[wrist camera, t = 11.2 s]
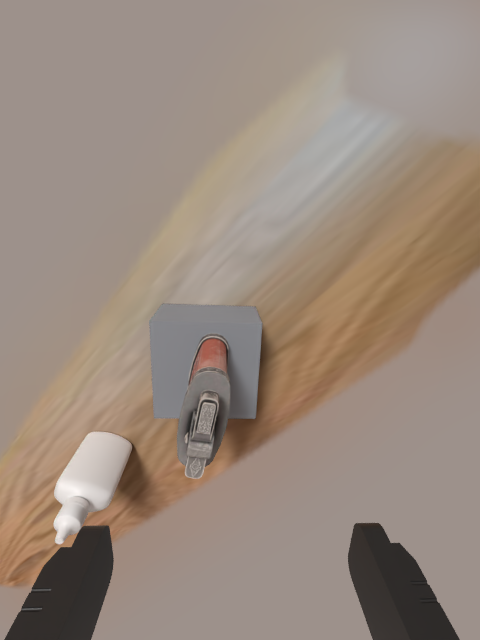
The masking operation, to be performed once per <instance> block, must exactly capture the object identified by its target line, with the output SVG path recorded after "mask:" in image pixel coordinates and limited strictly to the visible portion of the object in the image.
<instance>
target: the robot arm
mask: <svg viewBox="0 0 480 640" xmlns="http://www.w3.org/2000/svg"><path fill="white" fill-rule="evenodd" d="M348 564H349V570H350V574H351V578H352V581H353V584H354V587H355V590H356V592H357V595H358V598H359V601H360V604H361V607H362V610H363V613H364V615H365V618H366V621H367V624H368V627H369V630H370V633H371V636H372V638H373V640H459V638H458V636H457V634H456V632H455V630H454V629H453V627H452V625H451V623H450V622H449V620H448V618H447V616H446V614H445V612H444V611H443V609H442V607H441V605H440V603H438V602H437V598H436V596H435V594H434V593H433V591H432V589H431V588H430V585H428V584H427V580H426V578H425V577H424V575H423V573H422V571H421V569H420V568H419V566H418V564H417V562H416V560H415V559H414V558H413V557H412V556H411V555H410V554H409V553H408V552H407V551H406V550H405V548H403V546H402V545H401V544H400V543H390V541H389V539H388V537H387V535H386V533H385V531H384V529H383V528H382V526H381V525H380V524H379V523H356V524H355V525H354V529H353V534H352V538H351V543H350V548H349V553H348ZM112 570H113V551H112V543H111V536H110V529H109V526H83V527H82V528H81V529H80V531H79V533H78V535H77V537H76V539H75V541H74V543H73V545H72V547H61V548H60V549H59V550H58V551H57V552H56V553H55V554H54V555H53V557H52V558H51V559H50V560H49V561H48V562H47V563H46V564H45V565H44V567H43V569H42V570H41V572H40V574H39V576H38V578H37V580H36V582H35V583H34V585H33V587H32V591H31V593H29V595H28V597H27V598H26V600H25V602H24V604H23V606H22V609H21V612H19V613H18V615H17V617H16V619H15V621H14V623H13V625H12V626H11V628H10V630H9V632H8V634H7V636H6V638H5V640H91V638H92V635H93V632H94V629H95V625H96V623H97V620H98V617H99V613H100V611H101V607H102V605H103V602H104V598H105V595H106V592H107V589H108V586H109V583H110V580H111V576H112Z"/></svg>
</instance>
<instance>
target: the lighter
mask: <svg viewBox="0 0 480 640" xmlns="http://www.w3.org/2000/svg"><path fill="white" fill-rule="evenodd" d="M228 350H229V349H228V341H227V340H226V338H225V337H223V336H222V335H220V334H217V333H210V334H206V335H205V336H203V337H202V339H201V340H200V342H199V345H198V347H197V349H196V352H195V354H194V357H193V361H192V365H191V368H190V372H189V380H188V388H187V392H186V394H185V398H184V402H183V405H182V409H181V412H180V417H179V424H178V433H177V452H178V459H179V461H180V462H181V463H182V464H184V465H185V466H186V468H185V475H186V476H187V477H189V478H194V479H198V478H200V477H202V475H203V472H204V467H206V466H207V465H209V464H210V463H211V462H212V461H213V459H214V457H215V455H216V453H217V451H218V449H219V447H220V445H221V442H222V439H223V436H224V433H225V430H226V427H227V421H228V415H229V409H230V379H229V376H228V375H227V369H228Z"/></svg>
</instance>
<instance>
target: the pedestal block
mask: <svg viewBox="0 0 480 640" xmlns="http://www.w3.org/2000/svg"><path fill="white" fill-rule="evenodd" d="M149 324H150V345H151V366H152V387H153V407H154V418H179V417H180V412H181V409H182V405H183V402H184V398H185V394H186V392H187V388H188V380H189V372H190V368H191V365H192V361H193V357H194V354H195V352H196V349H197V347H198V345H199V342H200V340H201V339H202V337H203V336H205V335H206V334H210V333H217V334H220V335H222V336H223V337H225V338H226V340H227V341H228V349H229V350H228V369H227V375H228V376H229V379H230V409H229V415H228V419H256V406H257V392H258V378H259V364H260V350H261V335H262V322H261V319H260V317H259V314H258V312H257V309H256V307H254V306H220V305H186V304H162V305H161V306H160V308H159V309H158V310H157V312H156V313H155V314H154V315H153V317H152V318H151V319H150V321H149Z"/></svg>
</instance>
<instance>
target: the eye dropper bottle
mask: <svg viewBox="0 0 480 640" xmlns="http://www.w3.org/2000/svg"><path fill="white" fill-rule="evenodd" d="M131 450H132V444H131V443H130V442H129V441H128V440H126V439H125V438H123V437H121V436H119V435H116V434H113V433H109V432H91V433H89V434H88V435H87V436H86V437H85V439H84V440H83V442H82V443H81V445H80V446H79V448H78V450H77V451H76V453H75V454H74V456H73V457H72V459H71V460H70V462H69V464H68V465H67V467H66V468H65V470H64V471H63V473H62V475H61V476H60V478H59V480H58V482H57V484H56V487H55V491H54V495H55V498H56V499H57V500H58V501H59V502H60V503H61V504H62V505H63V506H62V508H61V510H60V511H59V513H58V515H57V517H56V518H55V520H54V528H55V529H56V531H58V533H57V536H56V539H55V542H56V543H57V544H62V543H63V542H64V541H65V539H66V538H67V536H68V535H73V534H76V533H77V532H79V531H80V529H81V527H82V525H83V523H84V521H85V519H86V517H87V515H88V512H94V511H99V510H103V509H105V508H107V507H108V505H109V504H110V502H111V500H112V498H113V495H114V493H115V491H116V488H117V486H118V483H119V481H120V478H121V476H122V473H123V471H124V469H125V466H126V464H127V461H128V459H129V456H130V453H131Z"/></svg>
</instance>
